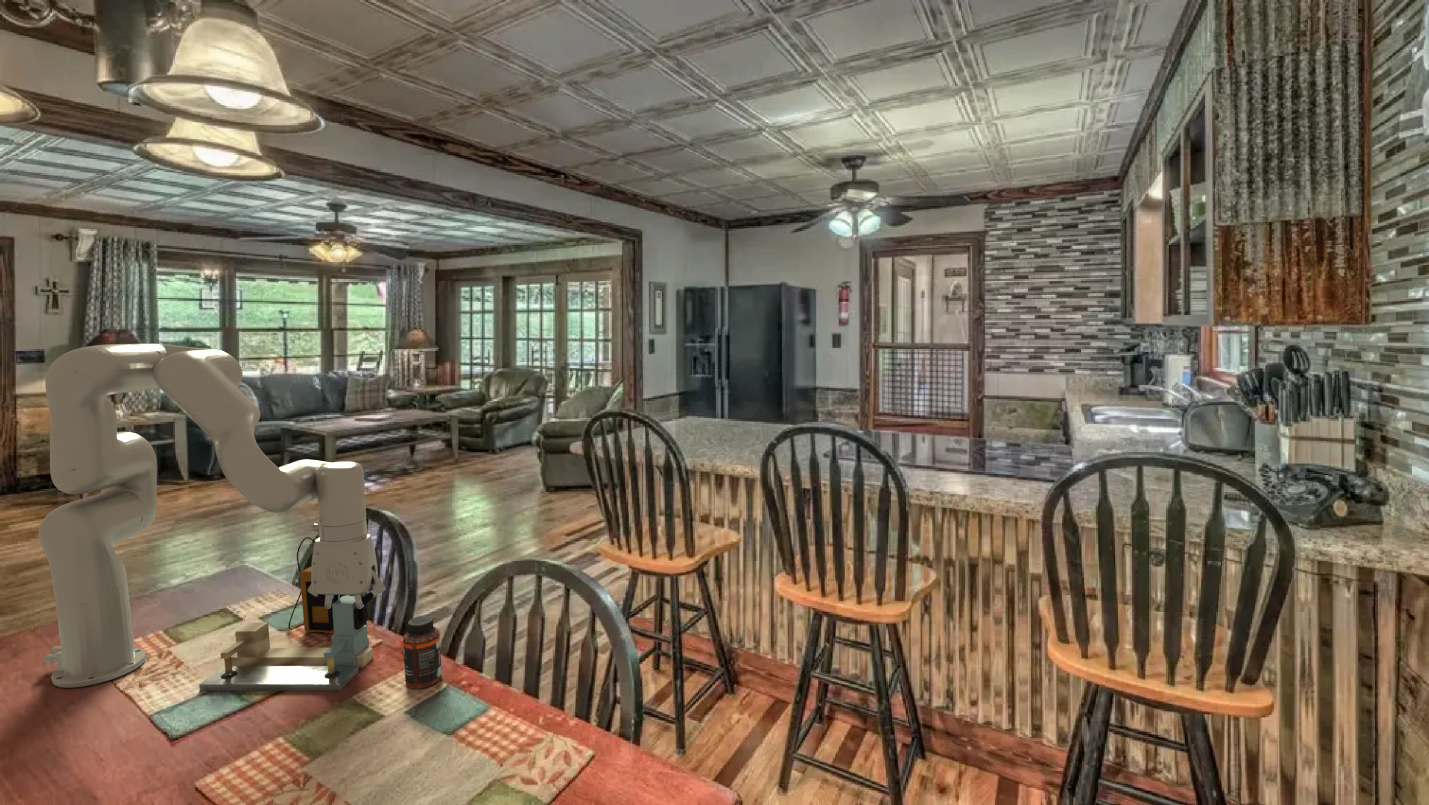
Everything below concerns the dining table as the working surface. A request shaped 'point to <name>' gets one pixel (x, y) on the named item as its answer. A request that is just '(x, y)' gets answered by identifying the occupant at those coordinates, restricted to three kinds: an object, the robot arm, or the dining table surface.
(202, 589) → the dining table surface
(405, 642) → the supplement bottle
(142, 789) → the dining table surface
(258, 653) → the trammel rail
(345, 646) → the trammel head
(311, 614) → the multimeter
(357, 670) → the flange plate
